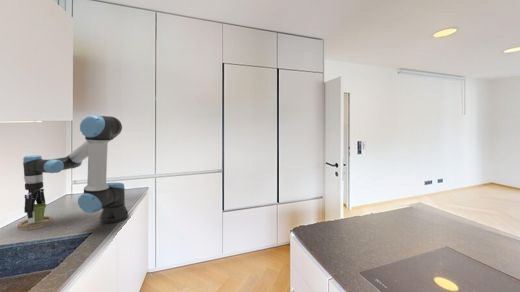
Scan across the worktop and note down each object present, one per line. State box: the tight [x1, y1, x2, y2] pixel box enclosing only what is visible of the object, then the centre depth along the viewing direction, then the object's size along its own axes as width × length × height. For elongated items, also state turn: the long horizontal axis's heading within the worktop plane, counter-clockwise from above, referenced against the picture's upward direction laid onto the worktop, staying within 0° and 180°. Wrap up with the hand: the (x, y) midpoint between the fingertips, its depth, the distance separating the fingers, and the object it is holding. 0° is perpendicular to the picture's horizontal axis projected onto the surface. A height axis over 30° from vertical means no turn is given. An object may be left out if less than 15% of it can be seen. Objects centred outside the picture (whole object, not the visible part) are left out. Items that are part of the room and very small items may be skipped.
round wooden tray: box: [17, 215, 54, 231], centre depth 131 cm, size 14×14×2 cm
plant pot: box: [23, 202, 48, 222], centre depth 130 cm, size 9×9×9 cm
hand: (36, 219), depth 131 cm, fingers closed on plant pot, 8 cm apart
